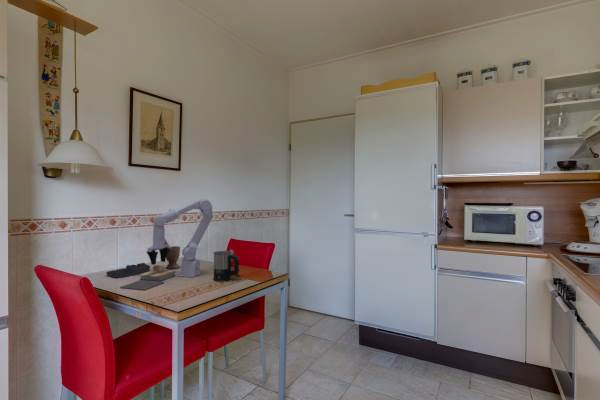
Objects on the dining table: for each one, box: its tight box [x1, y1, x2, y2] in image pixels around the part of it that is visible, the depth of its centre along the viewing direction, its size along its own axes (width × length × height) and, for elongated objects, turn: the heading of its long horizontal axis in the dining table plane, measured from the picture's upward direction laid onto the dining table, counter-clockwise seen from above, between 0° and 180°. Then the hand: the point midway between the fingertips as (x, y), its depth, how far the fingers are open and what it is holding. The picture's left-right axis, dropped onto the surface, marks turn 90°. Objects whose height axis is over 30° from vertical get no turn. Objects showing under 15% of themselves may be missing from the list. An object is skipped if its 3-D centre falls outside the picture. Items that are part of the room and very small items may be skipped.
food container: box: [229, 248, 235, 267], centre depth 200 cm, size 12×6×10 cm, turn 148°
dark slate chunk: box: [106, 262, 151, 280], centre depth 177 cm, size 15×22×5 cm
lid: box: [138, 264, 177, 277], centre depth 168 cm, size 13×13×4 cm
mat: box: [119, 279, 165, 291], centre depth 153 cm, size 14×14×1 cm
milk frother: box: [212, 250, 240, 282], centre depth 171 cm, size 14×16×15 cm
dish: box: [140, 272, 176, 282], centre depth 168 cm, size 12×12×2 cm
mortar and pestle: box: [164, 238, 181, 270], centre depth 190 cm, size 12×9×20 cm
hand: (158, 263), depth 168 cm, fingers open, 7 cm apart
